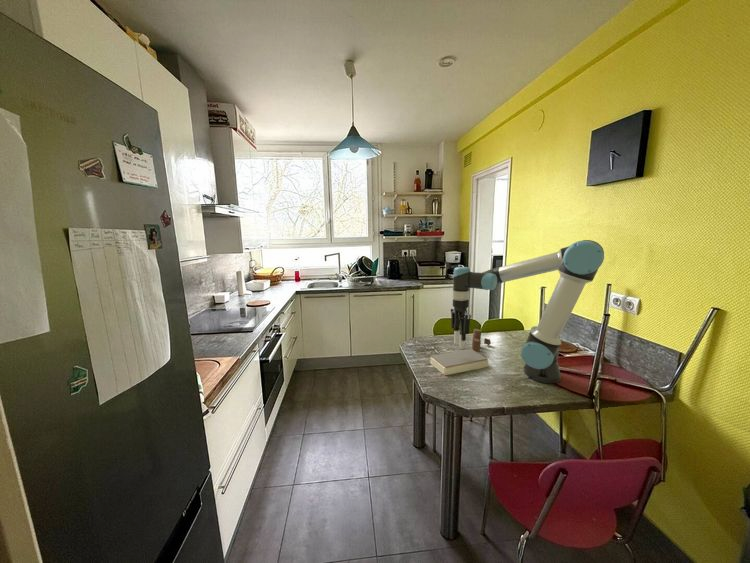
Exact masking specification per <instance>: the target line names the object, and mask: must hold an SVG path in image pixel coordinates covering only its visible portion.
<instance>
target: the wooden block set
mask: <svg viewBox="0 0 750 563" xmlns="http://www.w3.org/2000/svg"><path fill="white" fill-rule="evenodd" d="M482 332H483V330H481V329H479V328H473V333H472V334H473V335H472V341H471V347H472V348H471V349H472V350H474V351H475V352H477V353H479V352H480V350H481V345H482V344H481V342H482V341H481V339H482ZM483 343H484V345H488V346H490V345H491V344H492V343H491V338H486V337H485V338H484V340H483Z"/></svg>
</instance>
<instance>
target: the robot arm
mask: <svg viewBox="0 0 750 563" xmlns="http://www.w3.org/2000/svg"><path fill="white" fill-rule="evenodd" d="M604 260H605V251H604V248H603V246H602V245H601V244H600V243H598V241H595V240H591V239H583V240H579V241H576V242H574V243H572V244H570V245H569V246H566V247H561V248H560V249H559V250H558V251H556V252H553V253H552V252H551V253H549V254H545V255H541V256H538V257H534V258H529V259H524V260H522V261H517V262H515V263H511V264H507V265H504V266H503V265H502V266H500V267H496V268H489V269H487V270H486V271H483V272H474V271H471V269H470V267H469V266H468V267H467V266H457V267H454V269H453V275H452V278H453V280H452V283H453V284H452V285H453V286H452V288H453V289H452V298H453V299H452V307H453V308H451V309H450V313H451V314H450V315H451V319H450V320H451V329H453V336H454V337H453V343H454V344H455V345H457V344H459V346H458V347H460V348H462V347H466V339H467V336H466V335H468V334H470V325H471V324H470V323H471V317H472V314H469V312H468V310H467V309H468V308H469V307H470V306H469V305H470V300H469V298H470V289H476V290H477V289H478V290H485V291H488V290H489V291H494V290H495V289H496V287H497V285H498V284H499V285H500V284H502V283H503V284H504V283H506V282H511V281H512V282H513V281H515V280H519V279H524V278H528V277H534V276H537V275H538V276H539V275H542V274H543V275H544V274H546V273H551V272H555V271H558V273H559V276H560V277H559V279H558V280H557V282H556V284H555V287H554V289H553V292H552V293H551V296H550V298H549V299H548V302H547V304H546V307H545V309H544V311H543V313H542V315H541V318H540V319H539V322H538V324H537V325H536V326H532V327H531V328H530V331H529V334H528V336H527V339H526V340H525V343H524V344H523V345H522V347H521V350H520V356H521V358H522V360H523V362H524V363H525V365H524V366H523V373H524V374H525V375H526V376H527V377H528V379H530V380H533V381H535V382H539V383H543V384H557V383H559V382H561V380H562V374H561V370H560V367H559V363H558V361H559V350H560V346H561V345H562V341H561V335H562V332H563V331H564V328H565V326H566V325H567V323H568V321H569V318H570V317H571V314H572V313H573V310H574V308H575V306H576V304H577V302H578V300H579V298H580V296H581V294H582V292H583V290H584V288H585V286H586V284H589V283H591V282H593V281H594V279H595V276H596V275H597V273H598V270H599V269H600V267H601V266H602V265H603V263H604Z"/></svg>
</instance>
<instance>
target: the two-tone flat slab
mask: <svg viewBox="0 0 750 563" xmlns="http://www.w3.org/2000/svg"><path fill="white" fill-rule="evenodd" d="M429 360H430V361H429V362H430V364H431V365H432V366H433V367H435V368H436V369H437V370H438V371H439V372H440V373H441V374H443V375H444V376H448V375H454V374H459V373H464V372H468V371H474V370H479V369H484V368H488V367H489V360H488V358H487V357H486V356H484V355H482V354H480V353H479V352H475V351H474V350H473V349H472V348H470V349H464V350H458V351H453V352H447V353H440V354H435V355H431V356H430V358H429Z"/></svg>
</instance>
